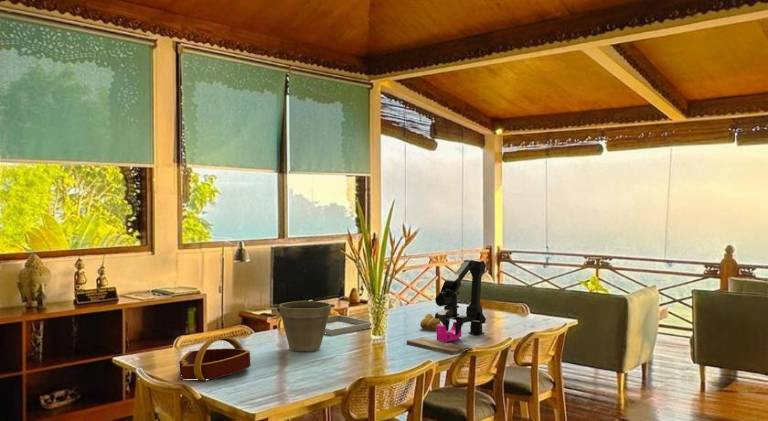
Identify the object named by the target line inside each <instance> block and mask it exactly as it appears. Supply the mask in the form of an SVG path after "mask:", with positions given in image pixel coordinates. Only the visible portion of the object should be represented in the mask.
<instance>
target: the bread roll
mask: <svg viewBox="0 0 768 421" xmlns="http://www.w3.org/2000/svg"><path fill="white" fill-rule="evenodd" d="M436 325H442V323H441V321H439V319H436V318H435V316H433V314H431V313H426V314H425V317H424V318H423V319H421V321H420V328H422V330H427V331H436Z"/></svg>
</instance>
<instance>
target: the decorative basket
mask: <svg viewBox="0 0 768 421" xmlns="http://www.w3.org/2000/svg"><path fill="white" fill-rule="evenodd" d="M218 341H224V342H226V343H229V344H230V345H231V346H232V347H233V348H230V347H229V348H209V347H210V346H211V345H212V344H214V343H216V342H218ZM251 364H252V362H251V351H250V350H248V349H245V348H244V347H243V346H242V344H241V343H240V342H239V341H238V340H237V339H236V338H234V337H232V336H227V335H223V336H218V337H214V338H211V339H208V340H207V341H206V342H205V343H203V344H202V346H200V347H199V349H198V350H195V349H194V350H189V351H187V353H185V354H184V355H183V356H182V358H180V359H179V374H180V375H182V376H181V379H182V378H183V379H198V380H206V379H209V380H211V379H216V378H221V377H226V376H229V375H232V374H235V373H237V372H238V373H239V372H241V371H244V370H247V369H248V368H250V367H251V366H252V365H251ZM180 375H179V376H180ZM183 379H182V380H183Z"/></svg>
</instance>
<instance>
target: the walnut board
mask: <svg viewBox="0 0 768 421" xmlns="http://www.w3.org/2000/svg"><path fill="white" fill-rule="evenodd" d="M406 345H411V346H415V347H419V348H423V349H428V350H433V351H434V352H440V353H444V354H448V355H455V354H459V353H463V352H462V351H464V350H466V349H469V348H470V347H469V346H465V345H461V344H456V343H451V342H443V341H438V340H437V339H434V338H428V337H424V336H423V337H418V338H413V339H407V340H406ZM464 352H465V351H464Z"/></svg>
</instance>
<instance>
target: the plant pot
mask: <svg viewBox="0 0 768 421" xmlns="http://www.w3.org/2000/svg"><path fill="white" fill-rule="evenodd" d="M278 306H279V307H278V309H279V310H278V311H279V316H280V317H281V320H282V326H283V328H284V332H285V335H286V336H285V337H286V339H287V345H288V348H289V350H290V349H291V351H292V350H294V351H293V352H296V351H311V352H315V351H314V350H316V351H318V350H317V349H319V348H320V349H321V346H322V342H323V338H324V335H325V334H324V332H325V328H327V327H326V326H327V324H328V322H327V320H328V317H329V316H331V312H332V311H331V310H332V304H331V303H329V302H325V301H315V300H301V301H297V300H296V301H290V302H282V303H280V304H279V305H278ZM320 349H319V350H320Z"/></svg>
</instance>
